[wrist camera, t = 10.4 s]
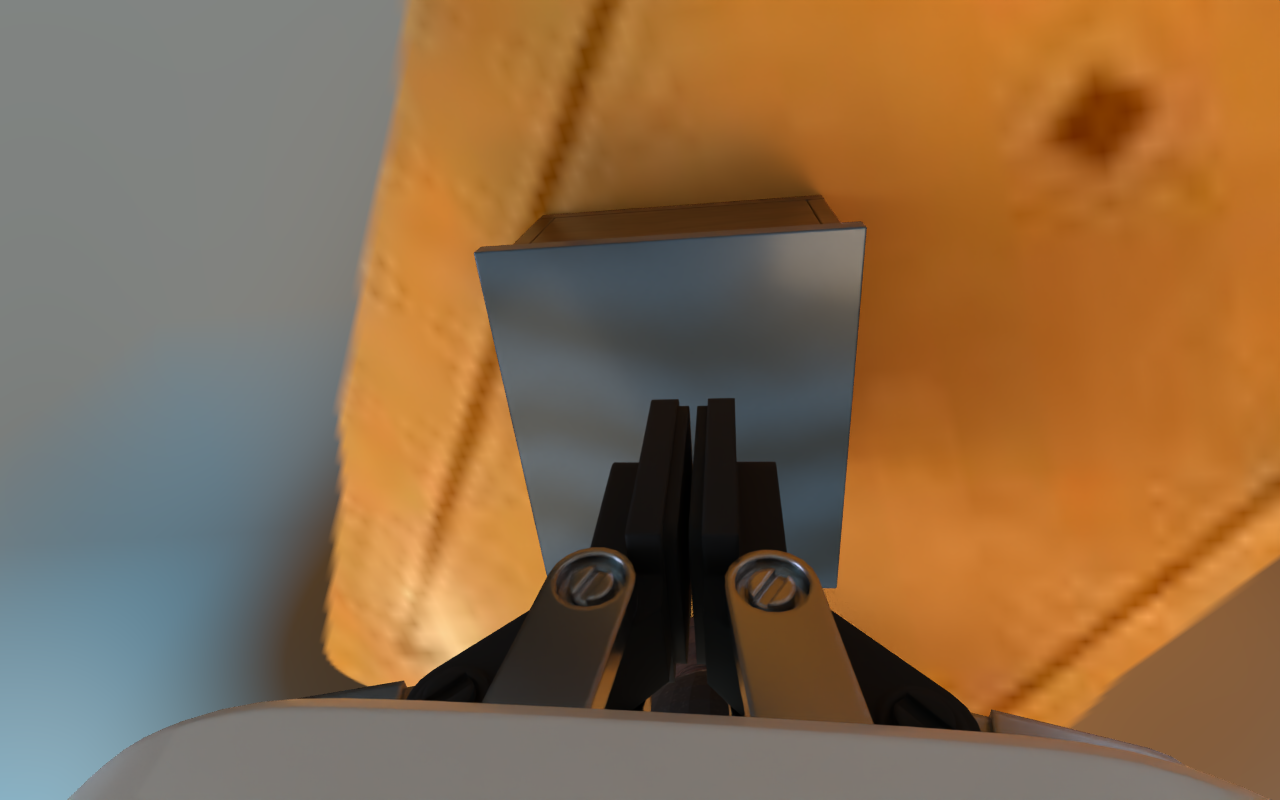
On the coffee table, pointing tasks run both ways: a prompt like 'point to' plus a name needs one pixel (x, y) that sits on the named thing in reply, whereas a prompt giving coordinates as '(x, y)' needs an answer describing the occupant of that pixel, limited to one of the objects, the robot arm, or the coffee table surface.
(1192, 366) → the coffee table surface
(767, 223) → the brown box
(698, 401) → the blue-grey square panel
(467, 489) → the coffee table surface
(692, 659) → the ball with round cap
